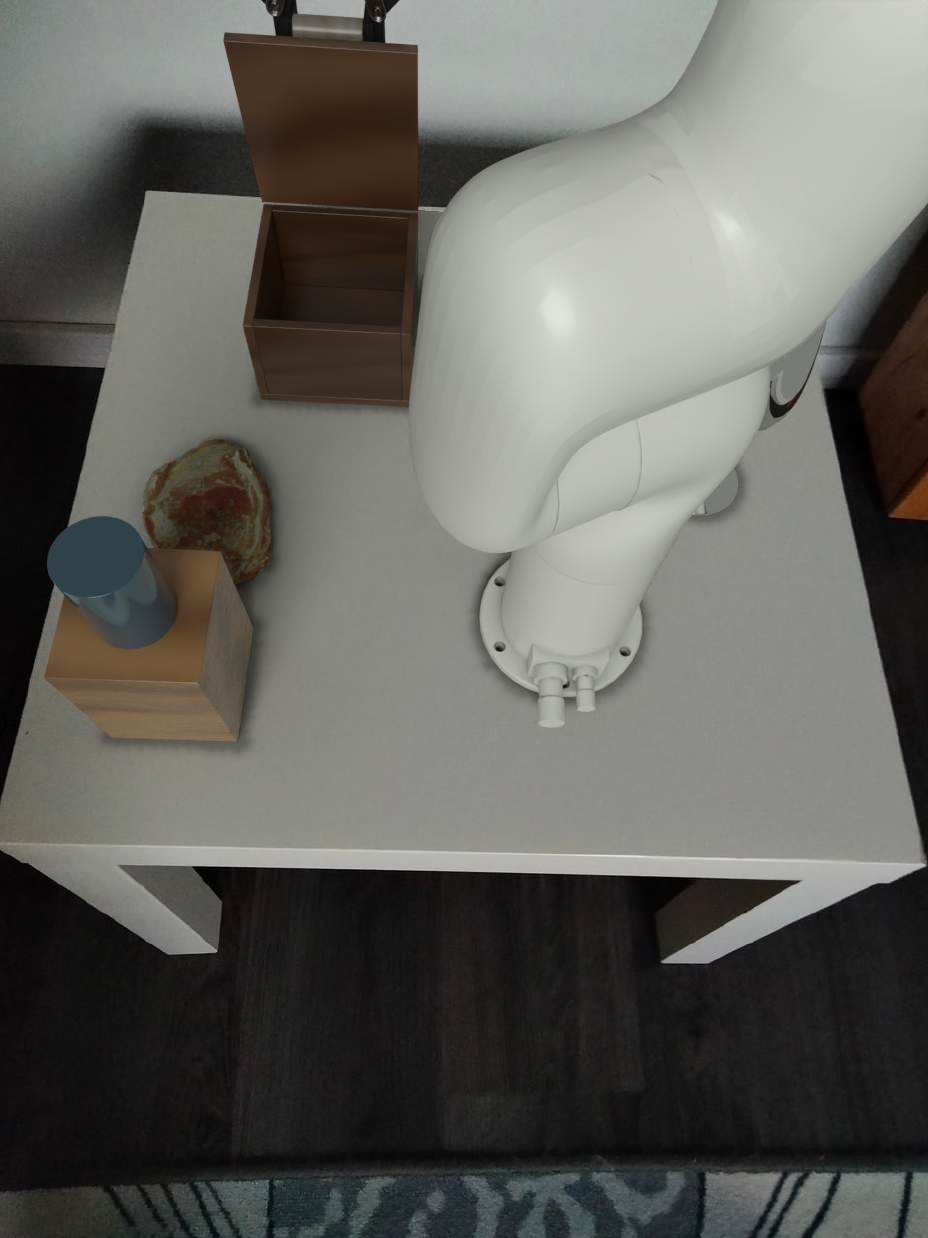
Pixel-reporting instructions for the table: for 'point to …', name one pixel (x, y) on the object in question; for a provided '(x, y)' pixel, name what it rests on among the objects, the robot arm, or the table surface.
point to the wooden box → (334, 305)
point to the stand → (164, 660)
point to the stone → (212, 507)
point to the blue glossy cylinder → (113, 581)
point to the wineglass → (772, 410)
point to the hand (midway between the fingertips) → (333, 62)
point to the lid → (329, 114)
